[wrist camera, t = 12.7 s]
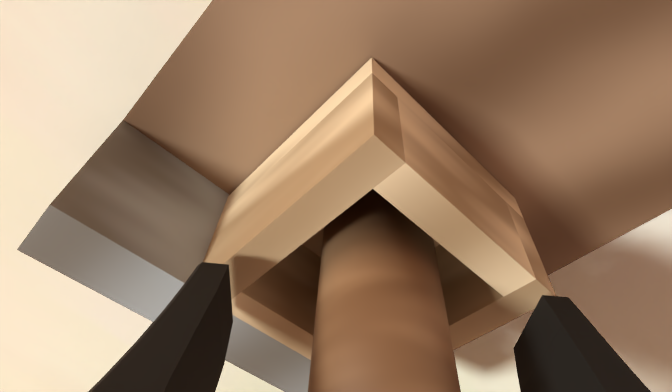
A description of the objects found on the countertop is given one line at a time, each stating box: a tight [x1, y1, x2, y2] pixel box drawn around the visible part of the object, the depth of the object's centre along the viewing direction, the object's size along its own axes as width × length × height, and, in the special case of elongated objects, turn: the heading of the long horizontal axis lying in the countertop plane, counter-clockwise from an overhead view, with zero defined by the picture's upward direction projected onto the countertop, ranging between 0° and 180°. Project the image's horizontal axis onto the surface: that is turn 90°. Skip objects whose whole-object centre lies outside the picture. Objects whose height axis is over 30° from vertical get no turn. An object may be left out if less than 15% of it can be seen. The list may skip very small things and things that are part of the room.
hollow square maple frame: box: [203, 58, 556, 360], centre depth 13 cm, size 6×6×4 cm
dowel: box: [308, 189, 461, 392], centre depth 11 cm, size 3×3×8 cm
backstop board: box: [17, 0, 672, 392], centre depth 11 cm, size 14×24×5 cm, turn 137°
